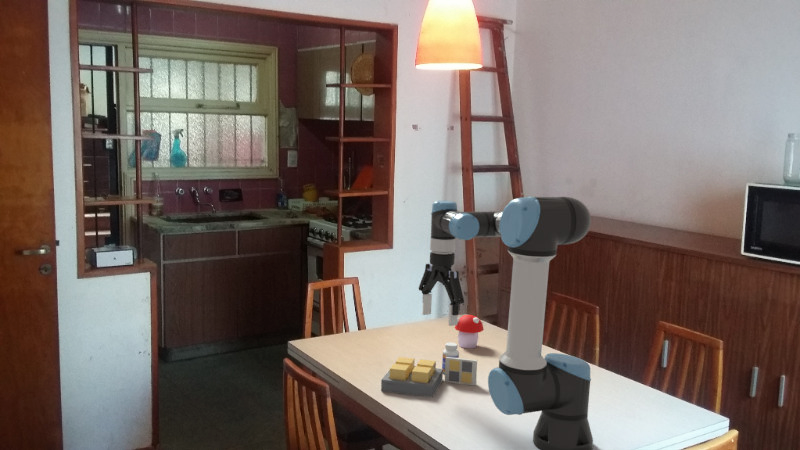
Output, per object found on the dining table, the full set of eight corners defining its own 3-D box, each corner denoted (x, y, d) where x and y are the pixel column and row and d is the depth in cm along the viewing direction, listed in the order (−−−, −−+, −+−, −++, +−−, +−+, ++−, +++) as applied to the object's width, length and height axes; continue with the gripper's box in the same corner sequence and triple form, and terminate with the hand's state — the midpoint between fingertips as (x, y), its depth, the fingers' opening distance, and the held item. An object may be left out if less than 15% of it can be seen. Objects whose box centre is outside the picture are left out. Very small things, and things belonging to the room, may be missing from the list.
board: (432, 397, 216) (432, 385, 216) (381, 390, 220) (381, 379, 220) (442, 379, 232) (442, 369, 231) (394, 374, 236) (394, 363, 235)
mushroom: (448, 343, 272) (449, 312, 271) (473, 340, 277) (474, 309, 275) (462, 351, 263) (463, 319, 261) (488, 348, 267) (489, 316, 266)
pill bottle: (439, 373, 238) (440, 344, 237) (445, 368, 243) (447, 340, 242) (454, 376, 236) (455, 347, 234) (460, 371, 240) (461, 343, 239)
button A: (427, 385, 218) (427, 372, 218) (411, 383, 220) (411, 371, 219) (430, 380, 223) (431, 367, 223) (415, 378, 224) (415, 366, 224)
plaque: (475, 385, 227) (476, 361, 226) (444, 382, 230) (445, 357, 229) (476, 384, 229) (477, 360, 228) (445, 380, 231) (446, 356, 230)
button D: (410, 375, 227) (410, 363, 226) (395, 373, 228) (395, 361, 228) (414, 370, 232) (414, 358, 231) (399, 368, 233) (399, 356, 232)
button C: (432, 378, 225) (432, 365, 225) (416, 376, 226) (417, 364, 226) (435, 373, 230) (435, 361, 229) (420, 371, 231) (420, 359, 231)
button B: (405, 382, 220) (405, 370, 220) (389, 381, 221) (389, 368, 221) (409, 377, 225) (409, 365, 224) (393, 375, 226) (393, 363, 226)
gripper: (478, 258, 210) (474, 328, 213) (428, 244, 231) (426, 308, 234) (457, 259, 206) (454, 331, 209) (409, 245, 227) (406, 311, 230)
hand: (439, 319), depth 221 cm, fingers open, 13 cm apart
